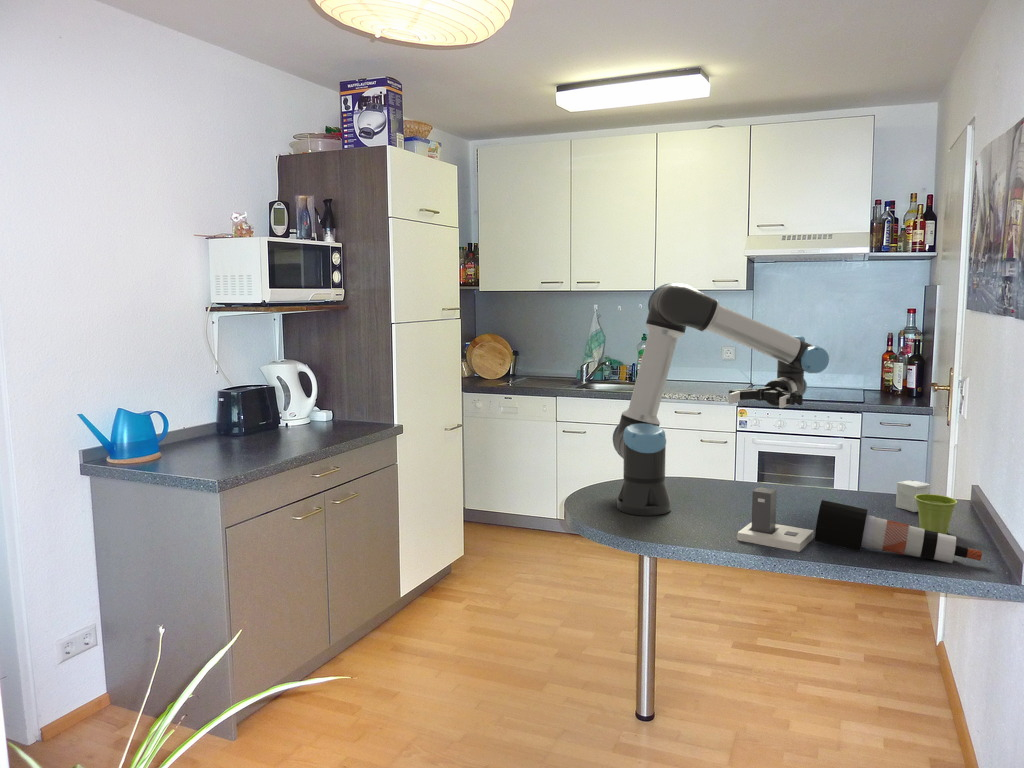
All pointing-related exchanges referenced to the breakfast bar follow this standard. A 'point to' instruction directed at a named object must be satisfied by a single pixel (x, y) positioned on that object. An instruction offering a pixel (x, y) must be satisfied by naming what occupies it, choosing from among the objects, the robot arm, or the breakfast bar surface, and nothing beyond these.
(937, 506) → the plant pot
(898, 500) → the skincare box
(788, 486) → the breakfast bar surface
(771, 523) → the block
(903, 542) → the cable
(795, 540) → the white base plate
